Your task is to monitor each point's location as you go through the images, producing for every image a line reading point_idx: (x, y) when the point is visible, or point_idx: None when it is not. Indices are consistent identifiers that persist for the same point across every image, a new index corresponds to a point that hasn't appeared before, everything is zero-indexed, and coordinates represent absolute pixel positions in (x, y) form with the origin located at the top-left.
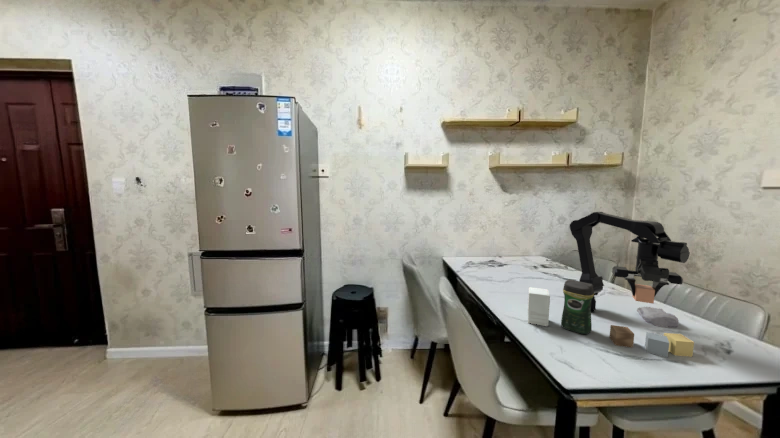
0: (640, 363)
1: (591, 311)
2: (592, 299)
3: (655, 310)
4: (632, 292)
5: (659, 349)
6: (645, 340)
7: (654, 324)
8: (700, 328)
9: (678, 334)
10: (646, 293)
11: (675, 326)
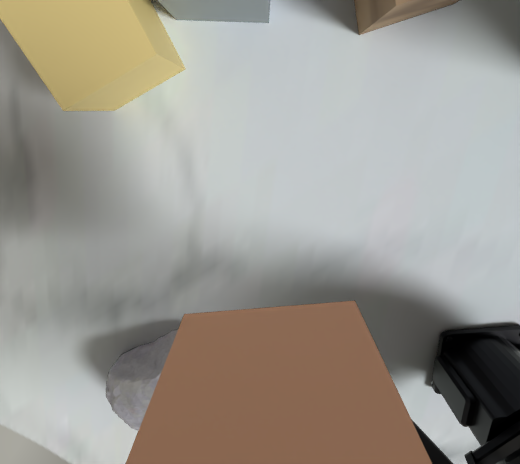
0: None
1: (455, 332)
2: (494, 401)
3: None
4: (416, 426)
5: None
6: (269, 11)
7: None
8: (51, 382)
9: (75, 90)
10: (255, 419)
11: (126, 352)
